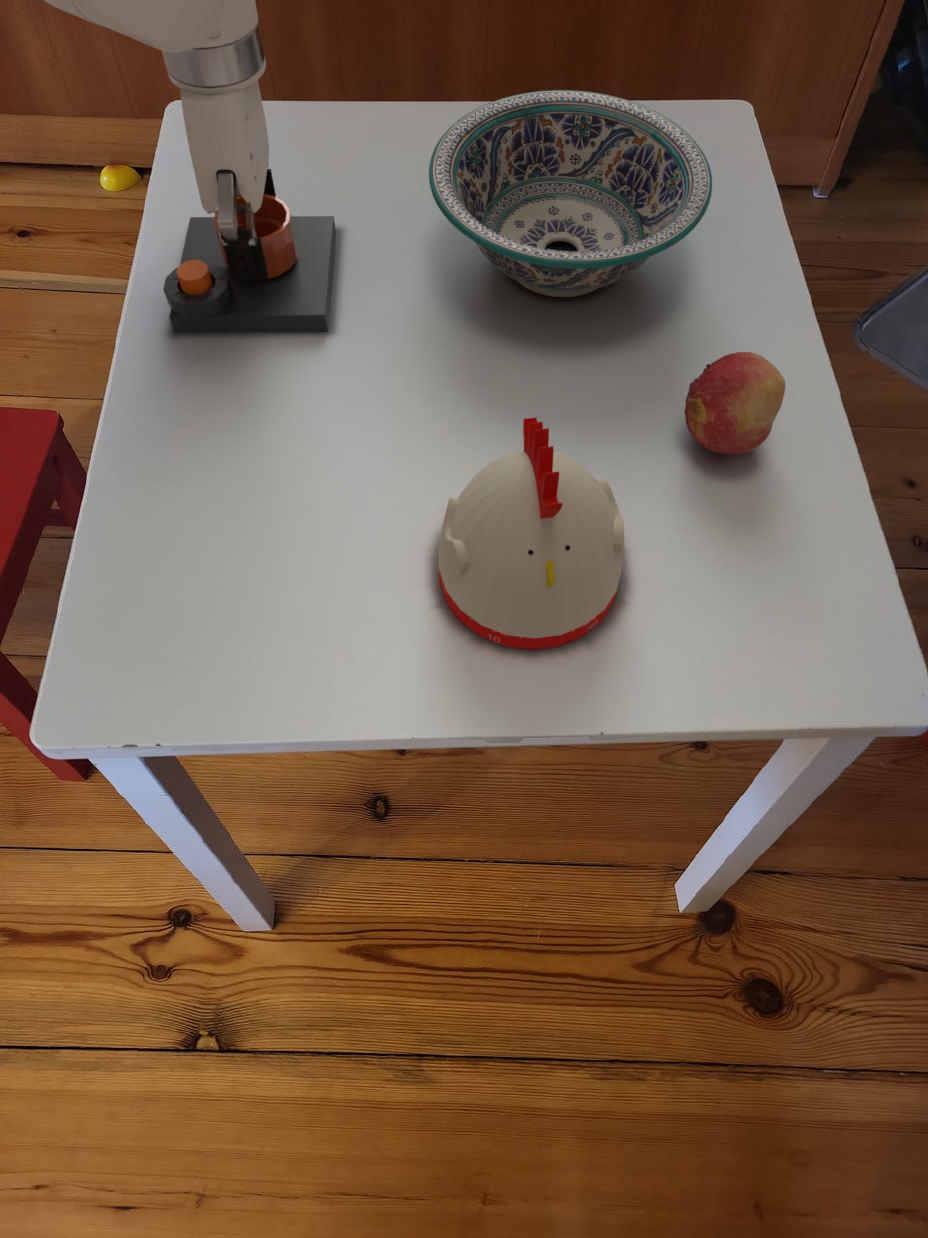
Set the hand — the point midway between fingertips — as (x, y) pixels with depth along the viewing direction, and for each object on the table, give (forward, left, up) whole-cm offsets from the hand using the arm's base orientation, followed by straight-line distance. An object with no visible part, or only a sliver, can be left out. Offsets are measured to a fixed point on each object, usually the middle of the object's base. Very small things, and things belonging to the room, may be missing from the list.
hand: (256, 243), depth 84 cm
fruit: (+41, -21, -4) cm, 46 cm away
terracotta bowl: (0, 0, -2) cm, 2 cm away
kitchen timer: (+24, -34, -4) cm, 42 cm away
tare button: (-5, -5, -1) cm, 7 cm away
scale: (0, 0, -4) cm, 4 cm away
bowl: (+29, +2, -4) cm, 29 cm away
